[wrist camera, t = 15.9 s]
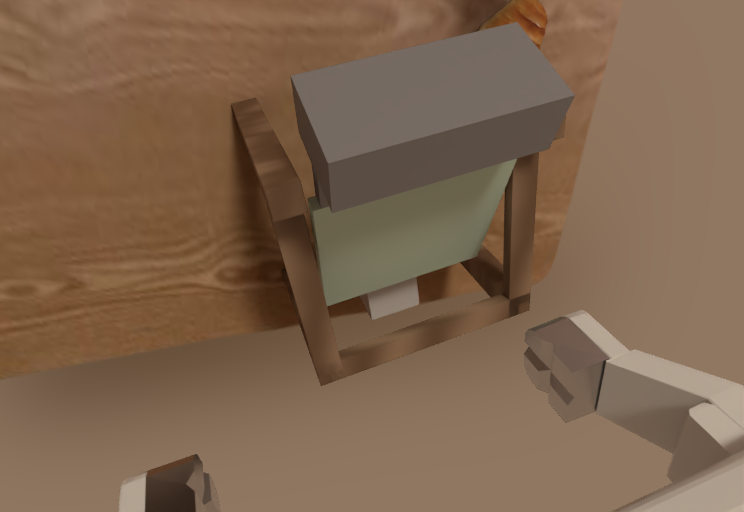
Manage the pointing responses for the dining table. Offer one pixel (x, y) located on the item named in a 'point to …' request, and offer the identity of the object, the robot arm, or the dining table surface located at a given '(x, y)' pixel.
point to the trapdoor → (419, 151)
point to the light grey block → (391, 298)
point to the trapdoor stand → (303, 278)
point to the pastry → (521, 18)
